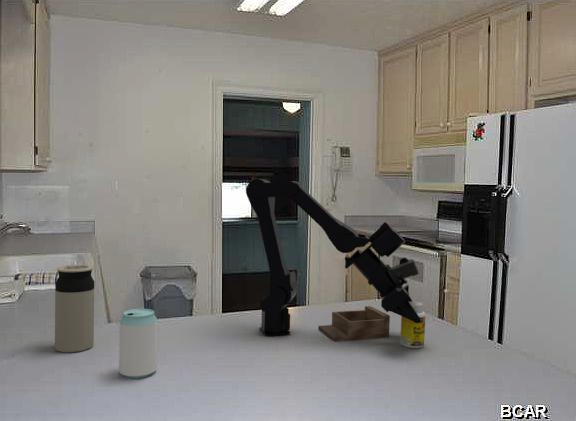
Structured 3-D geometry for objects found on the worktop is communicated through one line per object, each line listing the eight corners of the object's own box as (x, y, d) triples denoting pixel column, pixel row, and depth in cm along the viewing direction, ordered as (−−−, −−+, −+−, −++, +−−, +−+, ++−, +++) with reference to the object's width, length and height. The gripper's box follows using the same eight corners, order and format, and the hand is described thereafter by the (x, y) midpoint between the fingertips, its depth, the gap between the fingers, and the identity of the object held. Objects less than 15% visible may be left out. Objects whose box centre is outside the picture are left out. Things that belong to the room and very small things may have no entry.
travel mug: (101, 345, 113) (102, 266, 112) (72, 355, 105) (73, 271, 105) (75, 340, 116) (76, 263, 115) (46, 349, 109) (47, 268, 108)
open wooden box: (334, 341, 120) (335, 318, 120) (318, 329, 130) (319, 308, 130) (389, 337, 125) (389, 315, 125) (369, 326, 135) (370, 306, 135)
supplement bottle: (412, 350, 115) (414, 307, 115) (395, 344, 120) (396, 302, 119) (429, 347, 118) (430, 304, 118) (411, 340, 123) (413, 299, 122)
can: (136, 382, 92) (137, 318, 91) (111, 374, 96) (111, 312, 95) (164, 371, 98) (165, 311, 97) (139, 363, 102) (140, 305, 101)
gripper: (398, 252, 110) (448, 305, 108) (399, 243, 128) (442, 289, 126) (361, 285, 112) (409, 338, 110) (367, 272, 130) (409, 317, 128)
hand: (419, 318), depth 118 cm, fingers closed on supplement bottle, 6 cm apart
